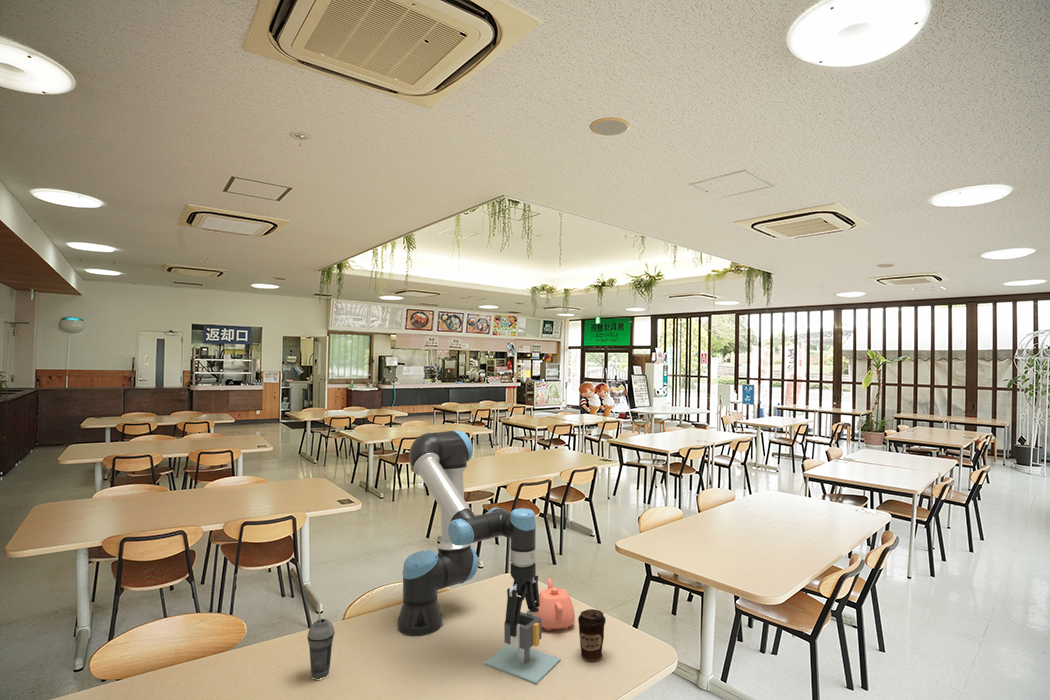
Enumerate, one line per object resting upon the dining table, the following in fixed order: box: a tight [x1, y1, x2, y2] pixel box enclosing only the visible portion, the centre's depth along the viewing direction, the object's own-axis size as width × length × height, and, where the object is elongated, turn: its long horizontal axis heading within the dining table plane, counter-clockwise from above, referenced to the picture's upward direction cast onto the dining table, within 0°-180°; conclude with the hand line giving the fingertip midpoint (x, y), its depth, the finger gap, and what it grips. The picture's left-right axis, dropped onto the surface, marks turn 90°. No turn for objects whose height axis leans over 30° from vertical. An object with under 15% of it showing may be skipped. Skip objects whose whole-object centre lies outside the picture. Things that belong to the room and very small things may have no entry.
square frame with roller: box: [503, 611, 542, 650], centre depth 155 cm, size 9×8×6 cm
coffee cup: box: [577, 608, 606, 663], centre depth 159 cm, size 9×8×13 cm
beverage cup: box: [306, 603, 335, 679], centre depth 149 cm, size 7×7×20 cm
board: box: [484, 644, 562, 685], centre depth 155 cm, size 18×14×8 cm
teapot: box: [535, 577, 576, 632], centre depth 179 cm, size 13×20×12 cm, turn 8°
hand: (523, 639), depth 155 cm, fingers closed on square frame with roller, 8 cm apart
